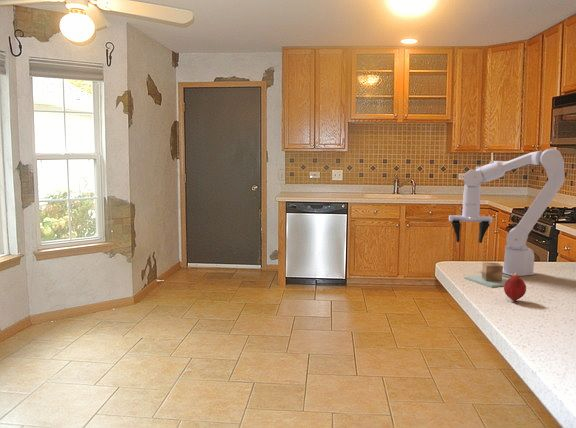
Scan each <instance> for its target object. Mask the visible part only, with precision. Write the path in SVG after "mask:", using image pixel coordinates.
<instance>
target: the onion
mask: <svg viewBox="0 0 576 428" xmlns="http://www.w3.org/2000/svg"><path fill="white" fill-rule="evenodd" d="M503 291H504V293H505V295H506V297H507V298H509V300H511V301H513V302H516V301H518V300H520V299H521V298H523V296H524V295H525V294H526V293H527V285H526V283H525V281H524V280H523V278H521V277H520V276H518V274H517V273H515V274H514V275H513V276H511V277H509V278H508V280H507V281H506V282H505V284H504V286H503Z"/></svg>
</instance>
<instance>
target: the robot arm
mask: <svg viewBox="0 0 576 428" xmlns="http://www.w3.org/2000/svg"><path fill="white" fill-rule="evenodd" d="M540 164H541V165H542V167H543V168H544V170H545V172H546V175H547V179H548V180H547V181H546V183H545V184H544V186H543V187H542V189H541V190H540V191H539V193H538V195H537V196H536V197H535V199H534V200H533V202H532V203H531V204H530V206H529V207H528V209H527V210H526V212H525V213H524V215H523V217H521V219H520V221H519V222H518V224H516V225H515V226H514V227H513V228H511V229H510V230H509V232H508V233H507V235H506V238H505V239H506V240H505V241H506V245H504V258H503V273H502V274H506V275H509V276H511V277H513V275H514V274H515V273H517V274H518V277H523V276H532V275H536V272H534V269H535V268H534V267H535V253H534V251H533V249H532V248H530V247H529V246H527V241H528V238H529V234H530V232H532V230H533V228H534V226H535V225H536V223H538V221H539V219H540V218H541V216H542V215H543V213H544V212H545V211H546V209H547V208H548V206H549V205H550V204H551V202H552V201H553V199H554V198H555V196H556V195H557V193H558V192H559V190H560V189H561V188H562V186H563V185H564V183H565V181H566V178H565V177H566V175H565V174H566V173H565V171H566V170H565V160H564V157H563V155H562V153H561V152H560V150H558V149H556V148H551V147H550V148H547V149H545V150H543V149H542V150H537V151H533V152H529V153H528V152H527V153H526V154H523V155H520V156H518V157H516V158H512V159H510V160H508V161H504V162H501V161H499V160H496V161H494V160H491V161H489V163H488V164H485V165H482V166H479V165H477V166H475V169H469V170H467V172H465V174H464V175H463V178H462V179H463V183H464V186H463V189H464V190H463V192H462V193H463V194H462V195H463V198H462V212H461V215H459V214H457V215H455V214H454V215H448V221H449V222H450V223H451V224H452V227H453V230H454V234H455V241H456V242H457V243H460V240H461V239H460V237H461V236H460V235H461V234H460V232H461V226H462V224H461V222H466V223H469V222H470V223H479V225H478V226H479V228H478V230H479V231H478V241H477V242H478V243H479V244H482V243H483V239H484V236H485V235H486V232H487V230H488V229H489V228H490V223H491V224H493V216H485V215H483V216H482V215H480V211H481V210H480V208H481V196H482V195H481V193H482V192H481V185H482V183H484V184H486V183H488V182H492V181H494V180H496V179H497V180H498V179H500V178H503V177H504V175H505V174H506V172H508V171H511V170H515V169H517V168H520V167H521V168H522V167H524V166H527V165H534V166H539V165H540Z"/></svg>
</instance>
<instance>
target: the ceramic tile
mask: <svg viewBox="0 0 576 428" xmlns="http://www.w3.org/2000/svg"><path fill="white" fill-rule="evenodd" d="M463 278H464V279H466V280H468V281H471V282H473V283H477V284H479V285H480V284H481V285H483V286H486V287H488V288H500V287H504V284H505V282H506V281H507V280H508V279H509V278H508V277H504V276H502V282H498V281H485V280H484V279H483V278H482V274H476V275H475V274H474V275H467V276H466V275H465V276H464V277H463Z"/></svg>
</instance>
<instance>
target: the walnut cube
mask: <svg viewBox="0 0 576 428" xmlns="http://www.w3.org/2000/svg"><path fill="white" fill-rule="evenodd" d="M503 269H504V265H502V264H501V263H500V262H488V261H487V262H486V261H484V262H483V261H482V272H481V273H482V274H481V275H482V278H483V279H484V280H485V281H498V282H502V277H503V274H504V273H503Z"/></svg>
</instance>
